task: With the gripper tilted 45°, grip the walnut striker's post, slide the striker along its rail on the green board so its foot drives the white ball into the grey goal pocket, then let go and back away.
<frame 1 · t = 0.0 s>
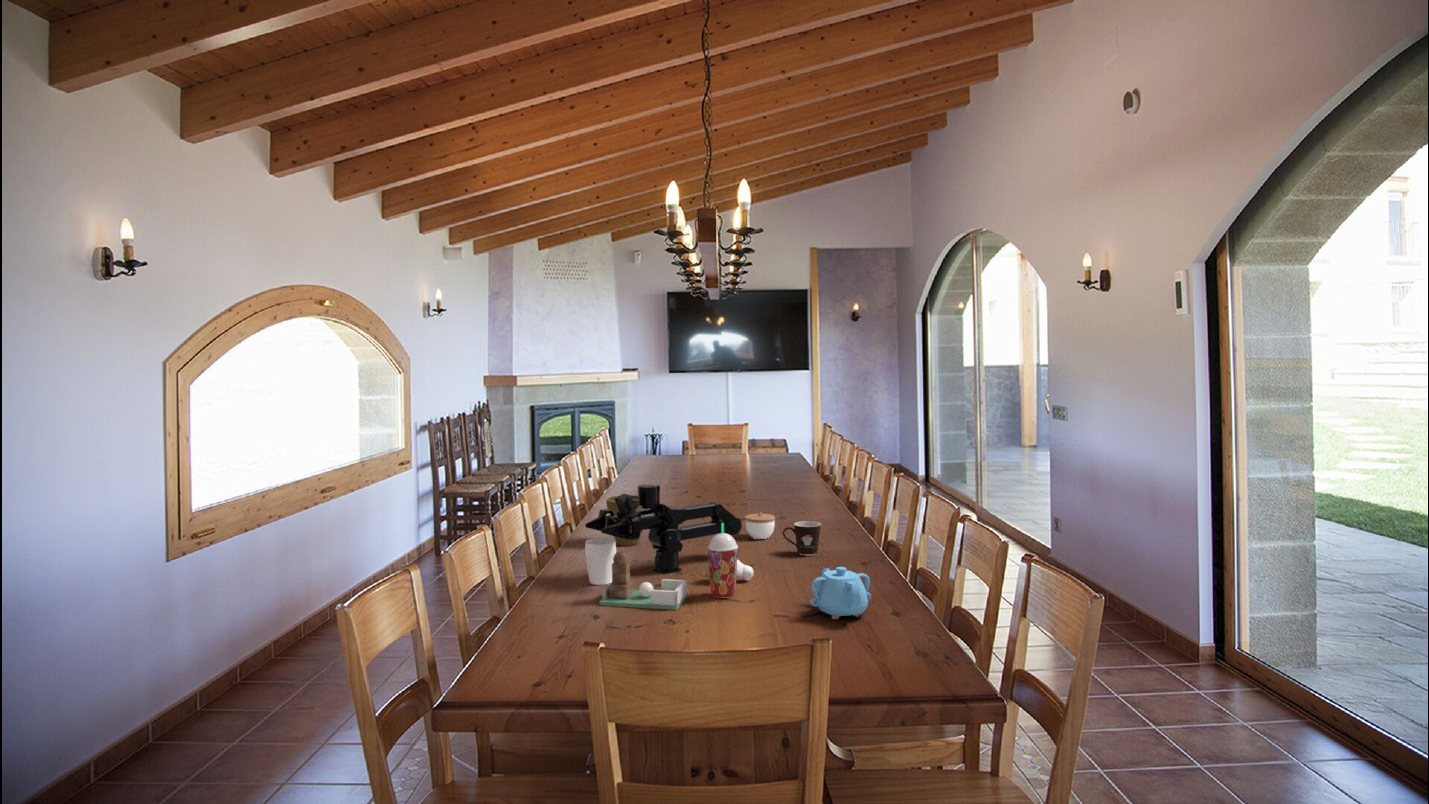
hand: (593, 528, 228), 17 cm above the table, tool horizontal, fingers open, 9 cm apart
lidded jar: (760, 538, 286), on the table
cup: (601, 582, 233), on the table
striker: (620, 573, 215), point 7 cm above the table, slide at 0.0 cm
smoothie: (723, 596, 218), on the table
ball: (646, 589, 214), point 3 cm above the table, touching pitch
pitch: (644, 600, 214), on the table
penguin figurine: (733, 582, 232), on the table
coffee mug: (803, 554, 263), on the table
teapot: (839, 613, 203), on the table
plant pot: (628, 544, 279), on the table
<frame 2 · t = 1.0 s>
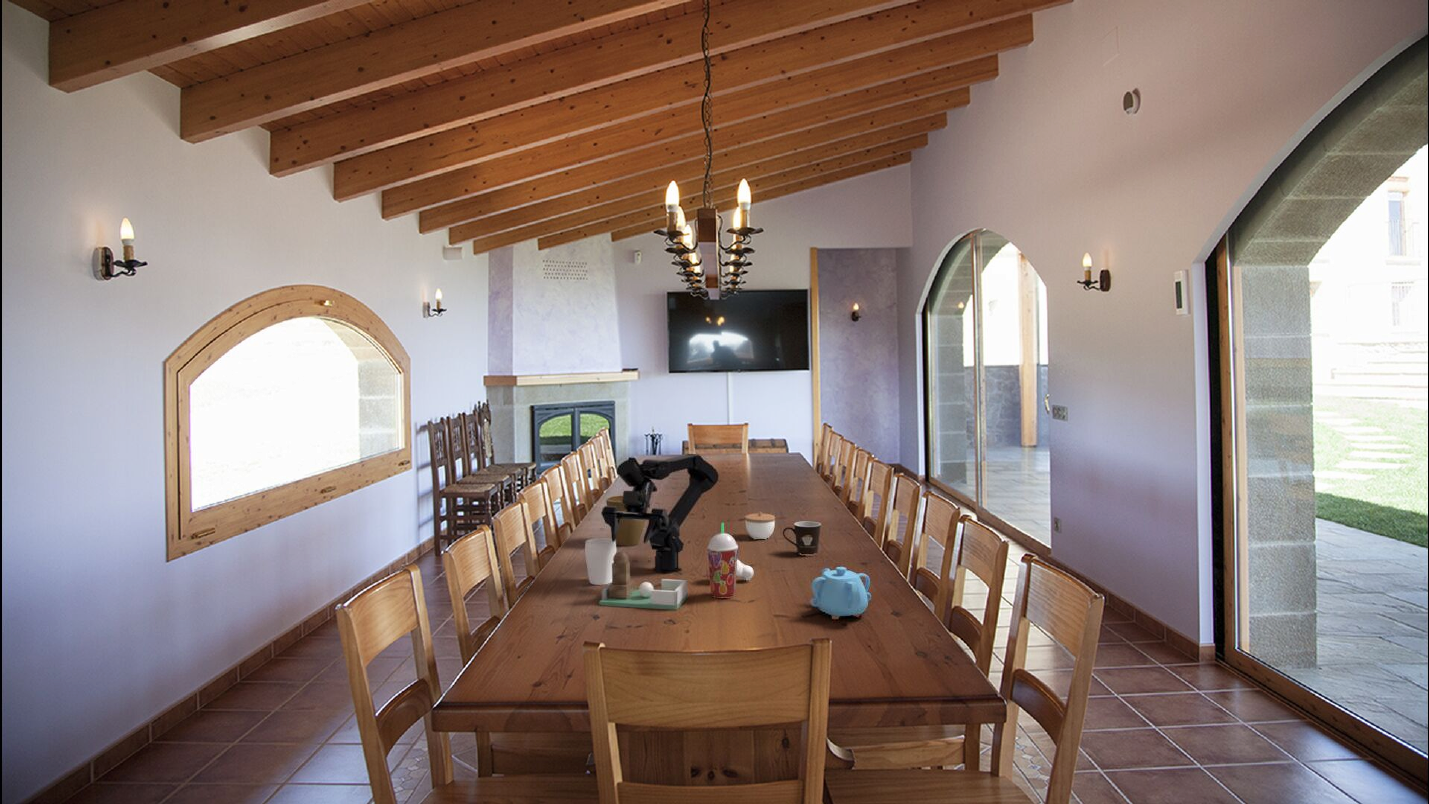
hand: (628, 541, 222), 14 cm above the table, tool tilted 45°, fingers open, 9 cm apart
nothing on the table moved.
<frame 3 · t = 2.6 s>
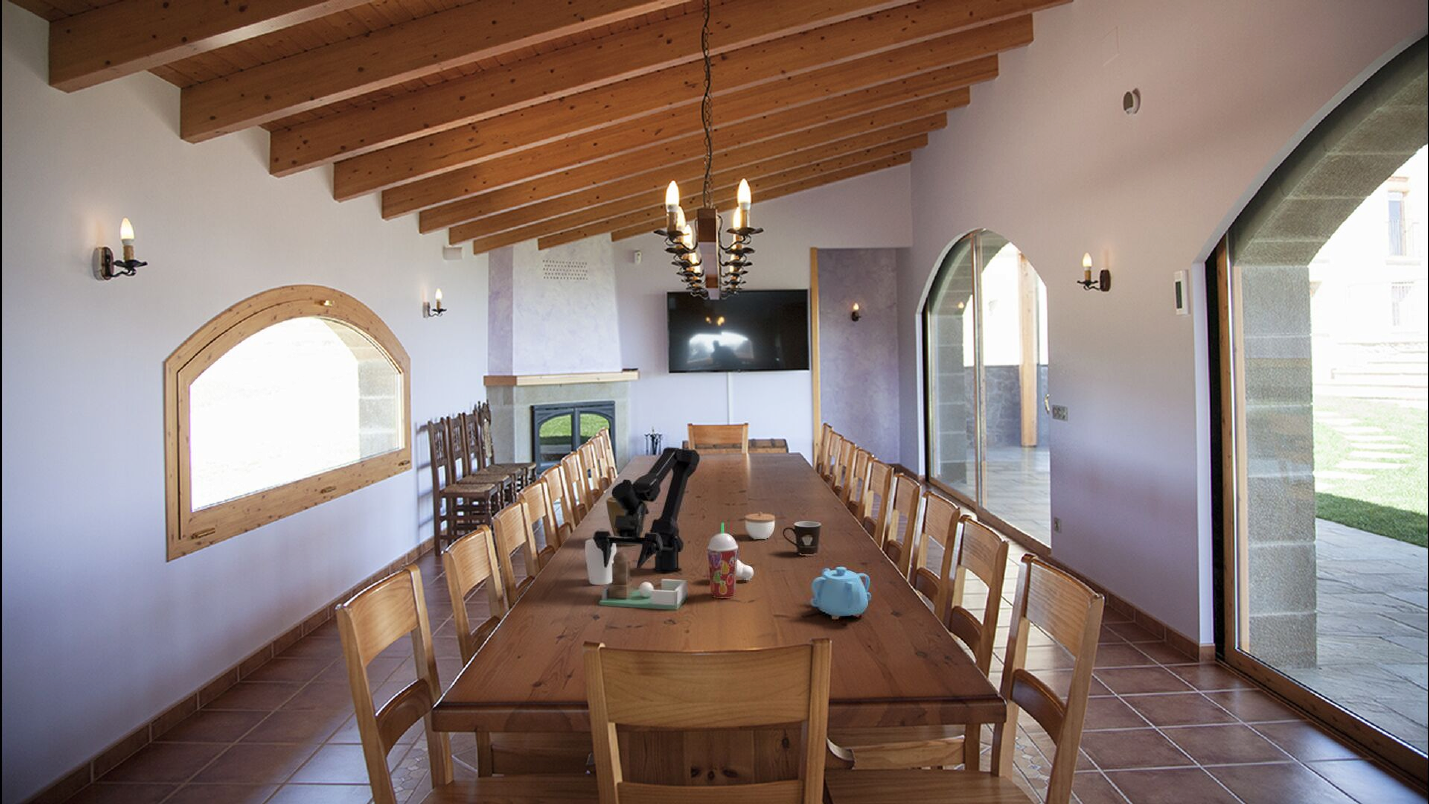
hand: (621, 567, 216), 8 cm above the table, tool tilted 45°, fingers open, 9 cm apart
nothing on the table moved.
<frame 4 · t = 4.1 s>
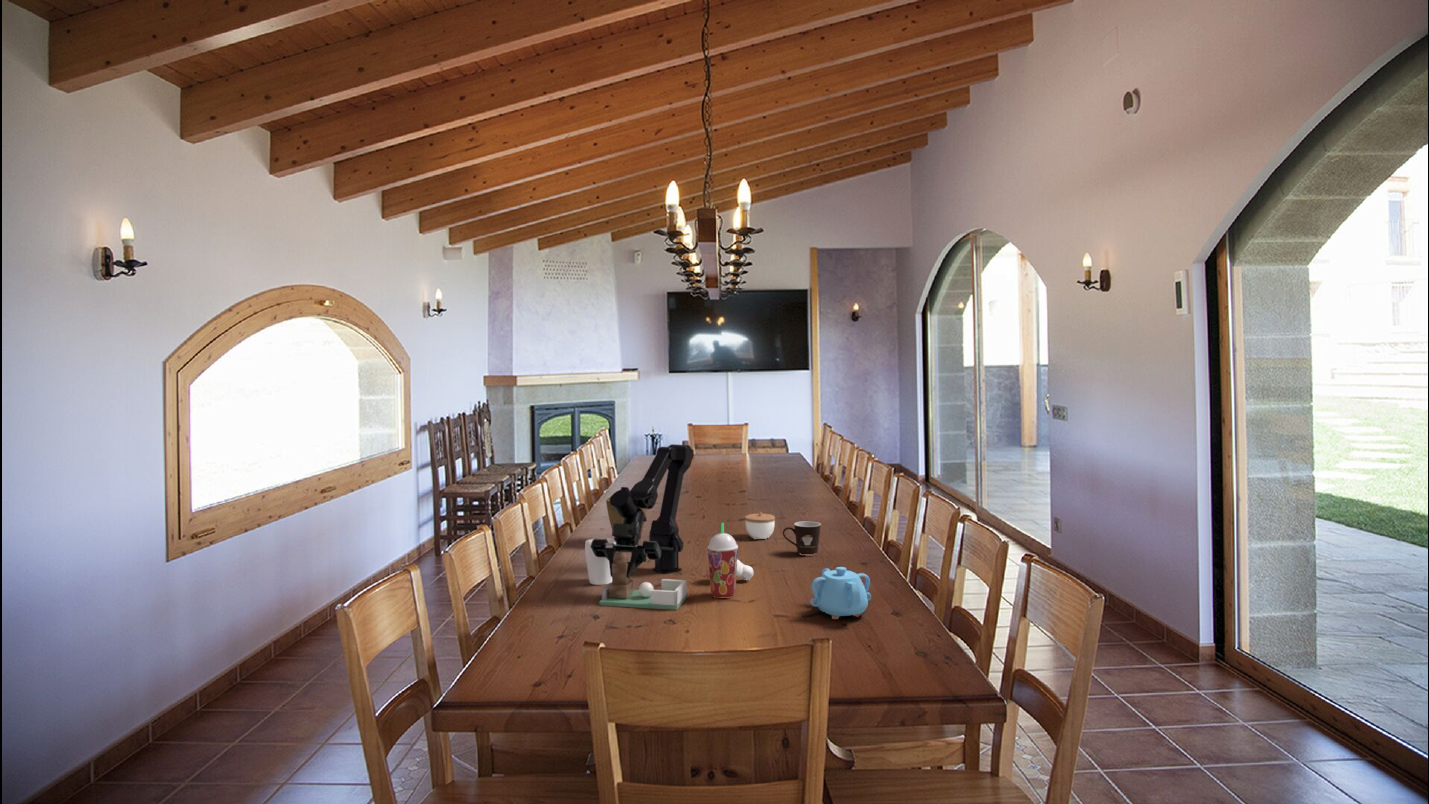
hand: (619, 576, 214), 7 cm above the table, tool tilted 45°, fingers closed on striker, 4 cm apart
striker: (621, 573, 215), point 7 cm above the table, slide at 0.0 cm, touching gripper
everything else where it was.
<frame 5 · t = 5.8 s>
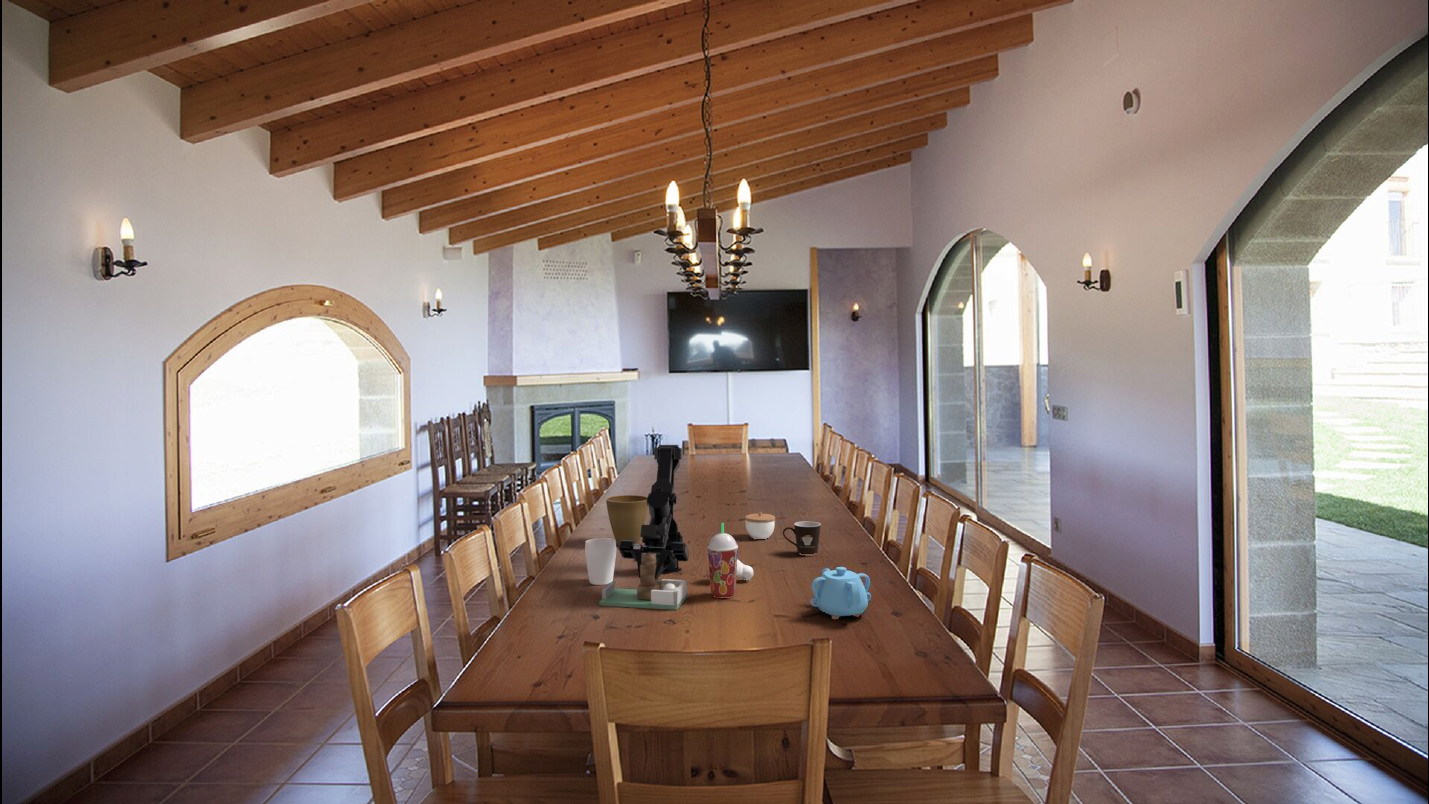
hand: (647, 578, 212), 7 cm above the table, tool tilted 45°, fingers closed on striker, 4 cm apart
striker: (649, 574, 214), point 7 cm above the table, slide at 7.9 cm, touching gripper
ball: (669, 591, 213), point 3 cm above the table, tilted 174°, touching pitch
everything else where it was.
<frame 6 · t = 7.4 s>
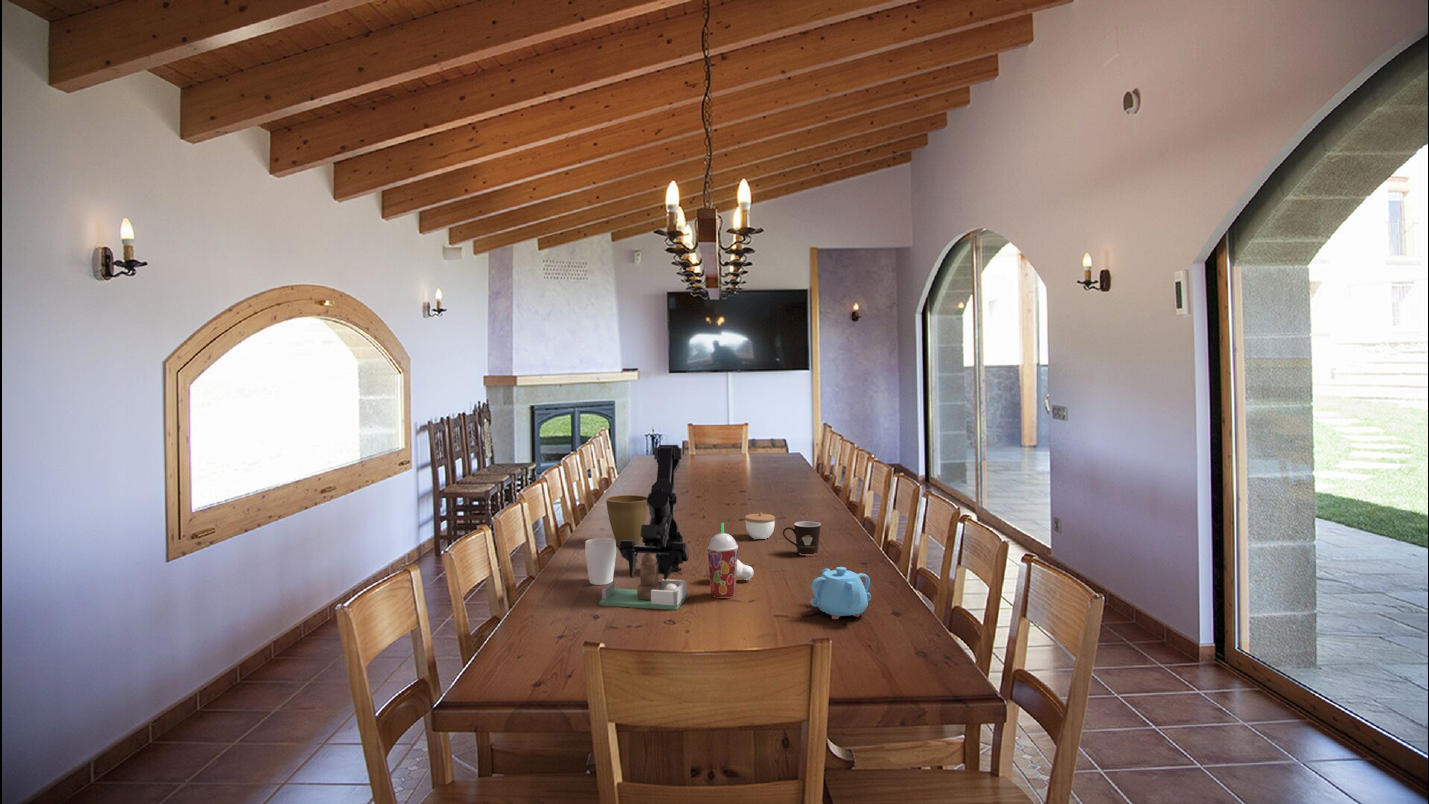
hand: (647, 578, 212), 7 cm above the table, tool tilted 45°, fingers open, 9 cm apart
striker: (649, 574, 214), point 7 cm above the table, slide at 8.0 cm
ball: (671, 591, 213), point 3 cm above the table, tilted 164°, touching pitch
everything else where it was.
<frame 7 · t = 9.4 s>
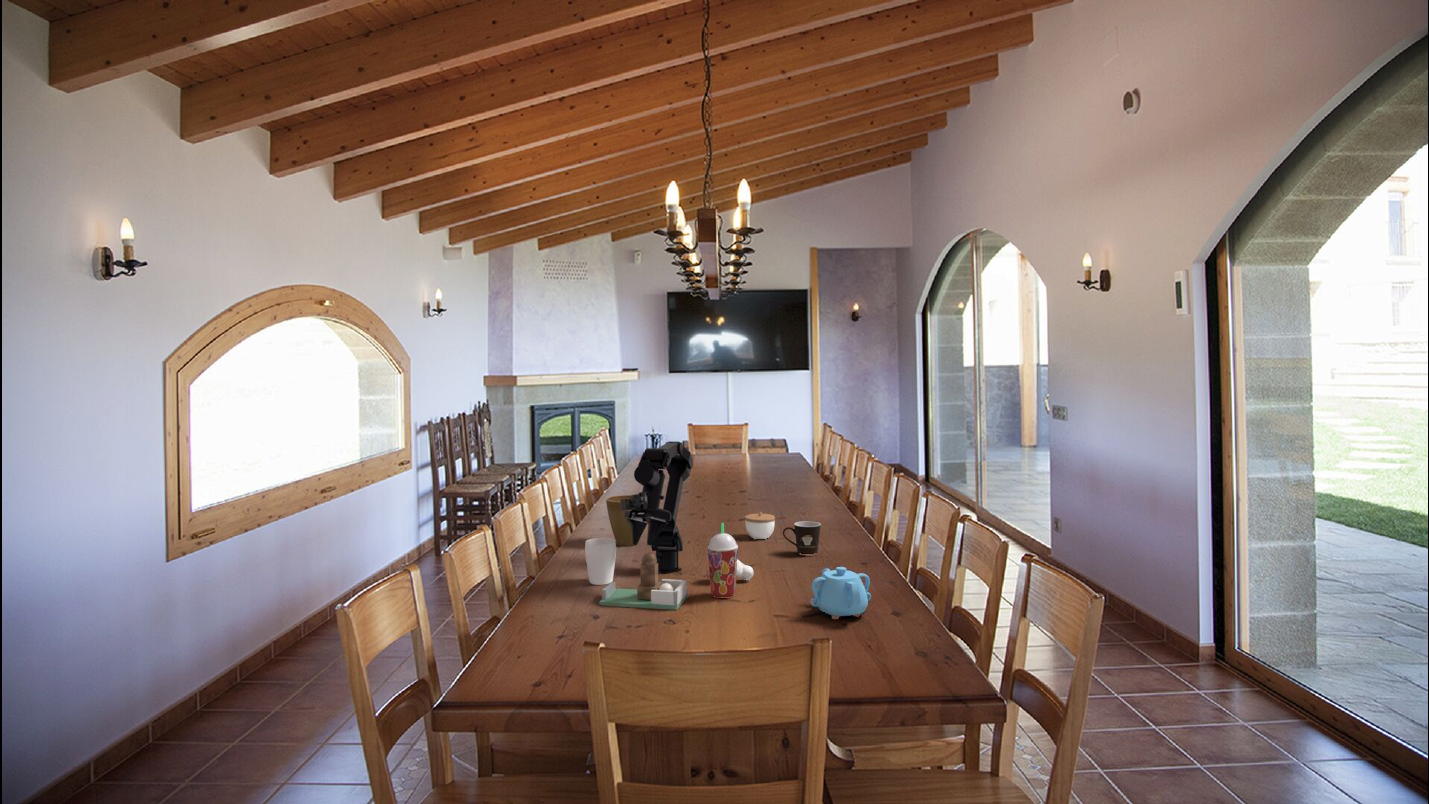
hand: (641, 544, 226), 12 cm above the table, tool tilted 20°, fingers open, 9 cm apart
ball: (665, 590, 213), point 3 cm above the table, tilted 155°, touching pitch
everything else where it was.
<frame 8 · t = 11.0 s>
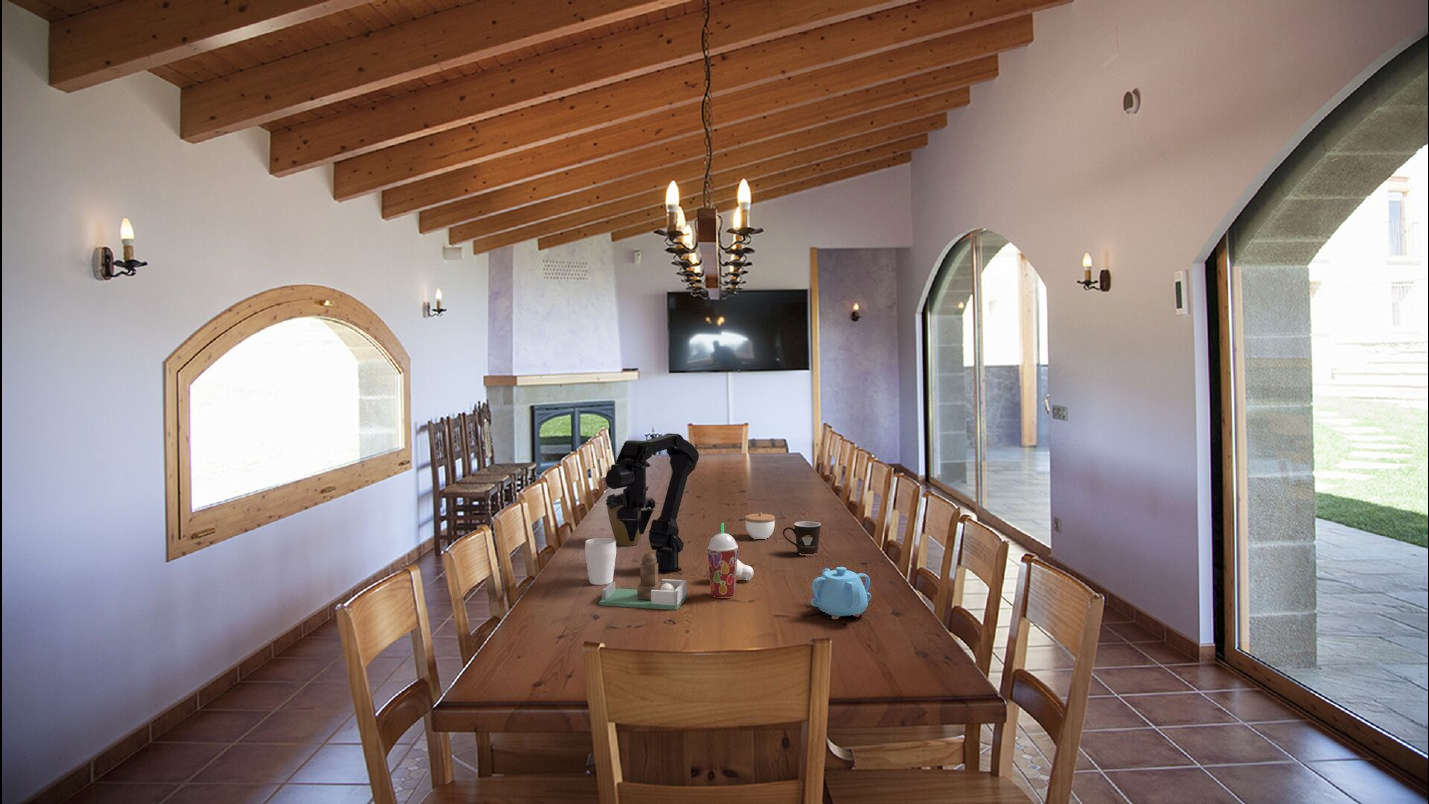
hand: (636, 537, 231), 13 cm above the table, tool pointing down, fingers open, 9 cm apart
ball: (666, 590, 213), point 3 cm above the table, tilted 162°, touching pitch
everything else where it was.
at the end: ball 0.7 cm from the target spot on the pitch, point 3.0 cm above the pitch's base; striker slide at 8.0 cm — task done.
